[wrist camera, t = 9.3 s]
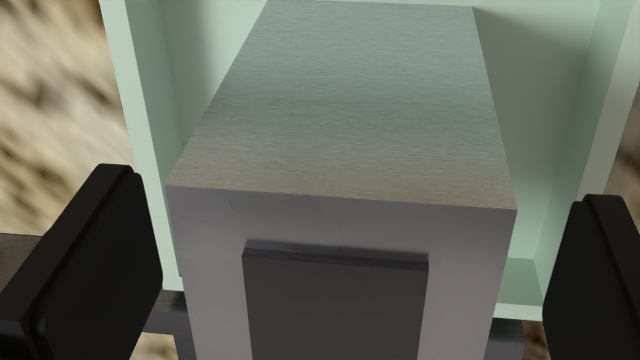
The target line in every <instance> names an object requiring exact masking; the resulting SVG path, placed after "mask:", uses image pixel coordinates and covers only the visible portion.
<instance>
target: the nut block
mask: <svg viewBox="0 0 640 360" xmlns="http://www.w3.org/2000/svg"><path fill="white" fill-rule="evenodd" d="M164 187H165V192H166V198H167V203H168V208H169V213H170V219H171V224H172V229H173V235H174V240H175V245H176V251H177V256H178V261H179V267H180V272H181V277H182V283H183V288H184V293H185V299H186V304H187V309H188V314H189V320H190V325H191V330H192V336H193V341H194V346H195V352H196V357H197V360H483V358H484V353H485V349H486V345H487V341H488V336H489V332H490V328H491V323H492V319H493V315H494V310H495V306H496V302H497V298H498V293H499V289H500V285H501V280H502V276H503V272H504V267H505V263H506V259H507V255H508V250H509V246H510V242H511V237H512V233H513V229H514V224H515V220H516V216H517V212H518V208H517V203H516V199H515V195H514V190H513V186H512V181H511V177H510V172H509V168H508V164H507V159H506V155H505V150H504V146H503V142H502V137H501V133H500V128H499V124H498V119H497V115H496V111H495V106H494V102H493V97H492V93H491V88H490V84H489V80H488V75H487V71H486V66H485V62H484V57H483V53H482V49H481V44H480V40H479V35H478V31H477V27H476V22H475V18H474V13H473V9H472V6H457V5H431V4H404V3H377V2H350V1H323V0H267V2H266V4H265V6H264V7H263V9H262V11H261V13H260V15H259V16H258V18H257V20H256V22H255V23H254V25H253V27H252V29H251V31H250V32H249V34H248V36H247V38H246V40H245V41H244V43H243V45H242V47H241V49H240V50H239V52H238V54H237V56H236V57H235V59H234V61H233V63H232V65H231V66H230V68H229V70H228V72H227V74H226V75H225V77H224V79H223V81H222V82H221V84H220V86H219V88H218V90H217V91H216V93H215V95H214V97H213V99H212V100H211V102H210V104H209V106H208V108H207V109H206V111H205V113H204V115H203V116H202V118H201V120H200V122H199V124H198V125H197V127H196V129H195V131H194V133H193V134H192V136H191V138H190V140H189V141H188V143H187V145H186V147H185V149H184V150H183V152H182V154H181V156H180V158H179V159H178V161H177V163H176V165H175V167H174V168H173V170H172V172H171V174H170V175H169V177H168V179H167V181H166V183H165V184H164Z"/></svg>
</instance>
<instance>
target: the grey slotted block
mask: <svg viewBox="0 0 640 360" xmlns="http://www.w3.org/2000/svg"><path fill="white" fill-rule="evenodd" d="M41 238H42V237H38V236H25V235H12V234H0V293H1V292H2V290H3V289H4V287H5V286H6V285H7V283H8V282H9V281H10V279H11V278H12V277H13V275H14V274H15V273H16V271H17V270H18V269H19V267H20V266H21V265H22V263H23V262H24V261H25V259H26V258H27V257H28V255H29V254H30V253H31V251H32V250H33V249H34V247H35V246H36V245H37V243H38V242H39V241H40V239H41ZM142 332H147V333H158V334H169V335H173V336H174V340H175V345H176V349H177V354H178V358H179V360H197V357H196V352H195V346H194V341H193V336H192V330H191V325H190V320H189V314H188V309H187V304H186V299H185V293H184V291H175V290H164V289H163V286H162V288H161V291H160V293H159V295H158V298H157V300H156V302H155V304H154V306H153V309H152V311H151V313H150V315H149V317H148V319H147V322H146V324H145V326H144V328H143V330H142ZM525 346H526V343H525V337H524V332H523V327H522V321H521V319H509V318H497V317H493V319H492V323H491V328H490V332H489V336H488V341H487V345H486V349H485V353H484V358H483V360H522V357H523V353H524V350H525Z"/></svg>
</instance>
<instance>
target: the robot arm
mask: <svg viewBox="0 0 640 360" xmlns="http://www.w3.org/2000/svg"><path fill="white" fill-rule="evenodd" d="M162 284H163V271H162V266H161V261H160V257H159V252H158V248H157V243H156V239H155V234H154V229H153V225H152V220H151V216H150V211H149V207H148V202H147V197H146V193H145V188H144V184H143V179H142V176H141V175H140V174H139V173H134V171H133V169H132V167H131V166H129V165H120V164H104V163H102V164H99V165H98V166H97V167H96V168H95V169H94V170H93V172H92V173H91V174H90V176H89V177H88V178H87V180H86V181H85V182H84V184H83V185H82V186H81V188H80V189H79V190H78V192H77V193H76V195H75V196H74V197H73V199H72V200H71V201H70V203H69V204H68V205H67V207H66V208H65V209H64V211H63V212H62V213H61V215H60V216H59V217H58V219H57V220H56V221H55V223H54V224H53V225H52V227H51V228H50V229H49V230H48V231H47V232H46V233H45V234H44V235H43V237H42V238H41V239H40V241H39V242H38V243H37V245H36V246H35V247H34V249H33V250H32V251H31V253H30V254H29V255H28V257H27V258H26V259H25V261H24V262H23V263H22V265H21V266H20V267H19V269H18V270H17V271H16V273H15V274H14V275H13V277H12V278H11V279H10V281H9V282H8V283H7V285H6V286H5V287H4V289H3V290H2V292H1V293H0V360H129V359H130V357H131V354H132V352H133V350H134V348H135V346H136V343H137V341H138V339H139V337H140V335H141V333H142V330H143V328H144V326H145V324H146V322H147V319H148V317H149V315H150V313H151V311H152V309H153V306H154V304H155V302H156V300H157V298H158V295H159V293H160V291H161V288H162ZM542 321H543V326H544V331H545V335H546V340H547V344H548V348H549V353H550V357H551V360H640V234H639V232H638V230H637V228H636V226H635V224H634V221H633V219H632V217H631V215H630V213H629V211H628V208H627V206H626V204H625V202H624V200H623V198H622V197H621V196H618V195H602V194H586V195H585V196H584V197H583V200H582V201H574V202H573V203H572V205H571V208H570V211H569V215H568V218H567V222H566V225H565V229H564V232H563V236H562V239H561V243H560V246H559V250H558V253H557V257H556V260H555V264H554V267H553V270H552V274H551V277H550V281H549V284H548V288H547V291H546V295H545V298H544V302H543V307H542Z"/></svg>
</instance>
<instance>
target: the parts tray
mask: <svg viewBox="0 0 640 360" xmlns="http://www.w3.org/2000/svg"><path fill="white" fill-rule="evenodd" d="M323 1H350V2H377V3H404V4H431V5H457V6H472V9H473V13H474V18H475V22H476V27H477V31H478V35H479V40H480V44H481V49H482V53H483V57H484V62H485V66H486V71H487V75H488V80H489V84H490V88H491V93H492V97H493V102H494V106H495V111H496V115H497V119H498V124H499V128H500V133H501V137H502V142H503V146H504V150H505V155H506V159H507V164H508V168H509V172H510V177H511V181H512V186H513V190H514V195H515V199H516V203H517V208H518V212H517V216H516V220H515V224H514V229H513V233H512V237H511V242H510V246H509V250H508V255H507V259H506V263H505V267H504V272H503V276H502V280H501V285H500V289H499V293H498V298H497V302H496V306H495V310H494V315H493V317H497V318H509V319H521V320H533V321H542V307H543V302H544V298H545V295H546V291H547V288H548V284H549V281H550V277H551V274H552V270H553V267H554V264H555V260H556V257H557V253H558V250H559V246H560V243H561V239H562V236H563V232H564V229H565V225H566V222H567V218H568V215H569V211H570V208H571V205H572V203H573V202H574V201H582V200H583V197H584V196H585V195H586V194H602V195H603V194H604V190H605V187H606V184H607V181H608V178H609V175H610V172H611V169H612V166H613V163H614V159H615V156H616V153H617V150H618V147H619V144H620V141H621V138H622V135H623V132H624V128H625V125H626V122H627V119H628V116H629V113H630V110H631V107H632V104H633V100H634V97H635V94H636V91H637V88H638V85H639V82H640V0H323ZM266 2H267V0H99V3H100V8H101V12H102V17H103V21H104V26H105V30H106V34H107V39H108V43H109V48H110V52H111V57H112V61H113V66H114V70H115V75H116V79H117V84H118V88H119V93H120V97H121V102H122V106H123V111H124V115H125V120H126V124H127V129H128V133H129V138H130V142H131V147H132V151H133V156H134V160H135V165H136V169H137V173H139V174H140V175H141V176H142V179H143V184H144V188H145V193H146V197H147V202H148V207H149V211H150V216H151V220H152V225H153V229H154V234H155V239H156V243H157V248H158V252H159V257H160V261H161V266H162V271H163V284H162V286H163V289H164V290H175V291H184V288H183V283H182V277H181V272H180V267H179V261H178V256H177V251H176V245H175V240H174V235H173V229H172V224H171V219H170V213H169V208H168V203H167V198H166V192H165V187H164V184H165V183H166V181H167V179H168V177H169V175H170V174H171V172H172V170H173V168H174V167H175V165H176V163H177V161H178V159H179V158H180V156H181V154H182V152H183V150H184V149H185V147H186V145H187V143H188V141H189V140H190V138H191V136H192V134H193V133H194V131H195V129H196V127H197V125H198V124H199V122H200V120H201V118H202V116H203V115H204V113H205V111H206V109H207V108H208V106H209V104H210V102H211V100H212V99H213V97H214V95H215V93H216V91H217V90H218V88H219V86H220V84H221V82H222V81H223V79H224V77H225V75H226V74H227V72H228V70H229V68H230V66H231V65H232V63H233V61H234V59H235V57H236V56H237V54H238V52H239V50H240V49H241V47H242V45H243V43H244V41H245V40H246V38H247V36H248V34H249V32H250V31H251V29H252V27H253V25H254V23H255V22H256V20H257V18H258V16H259V15H260V13H261V11H262V9H263V7H264V6H265V4H266Z"/></svg>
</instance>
